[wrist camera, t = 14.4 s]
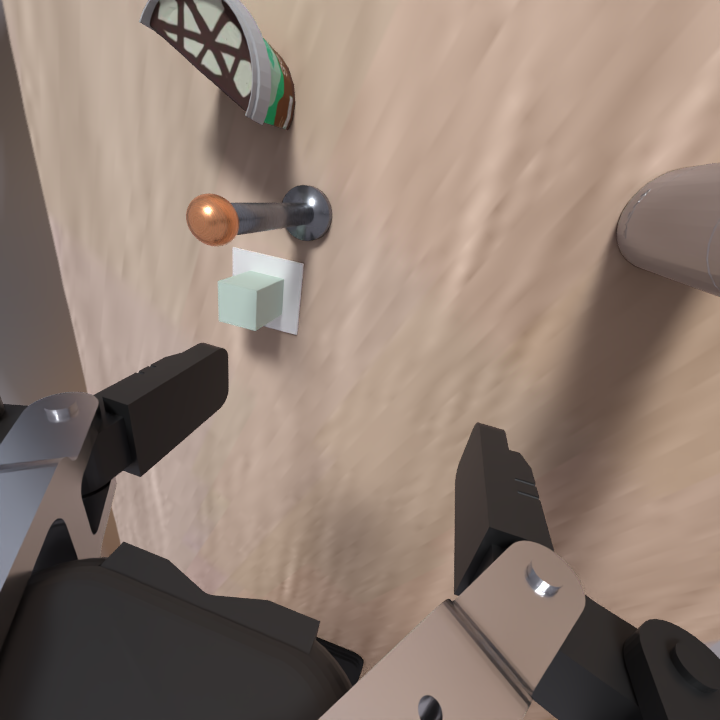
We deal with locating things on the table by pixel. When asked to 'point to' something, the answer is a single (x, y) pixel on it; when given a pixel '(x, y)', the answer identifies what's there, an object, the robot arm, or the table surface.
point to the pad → (280, 269)
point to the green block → (250, 299)
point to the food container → (228, 54)
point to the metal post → (259, 216)
